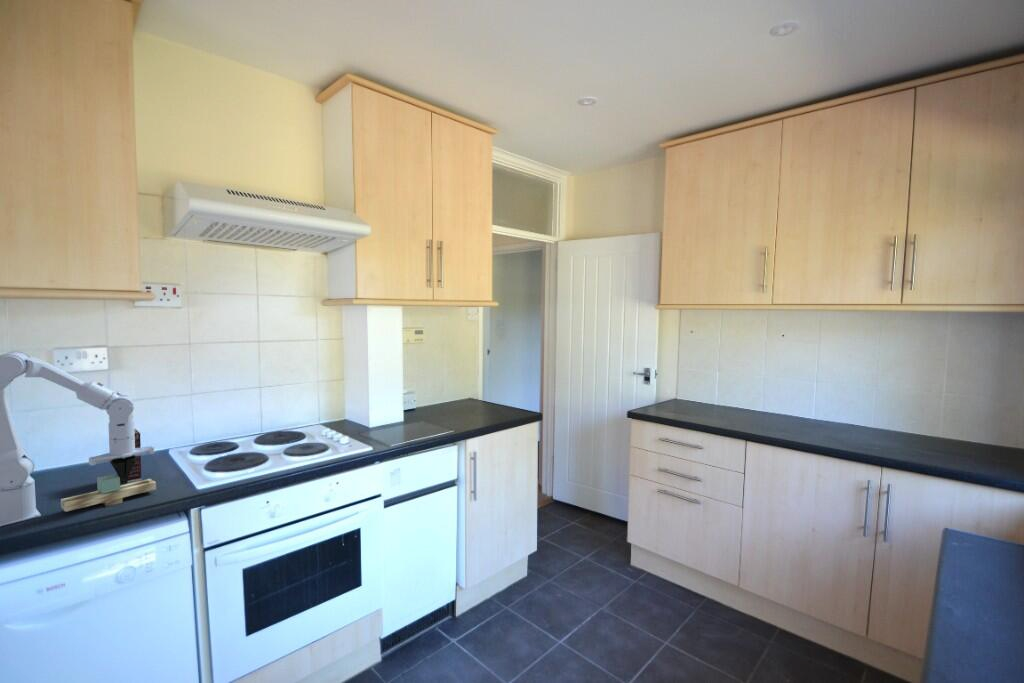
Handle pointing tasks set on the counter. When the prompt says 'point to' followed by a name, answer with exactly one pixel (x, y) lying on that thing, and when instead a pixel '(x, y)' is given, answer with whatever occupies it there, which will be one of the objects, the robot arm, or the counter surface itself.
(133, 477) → the supplement box
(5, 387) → the robot arm
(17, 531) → the counter surface
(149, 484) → the beam
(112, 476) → the block
